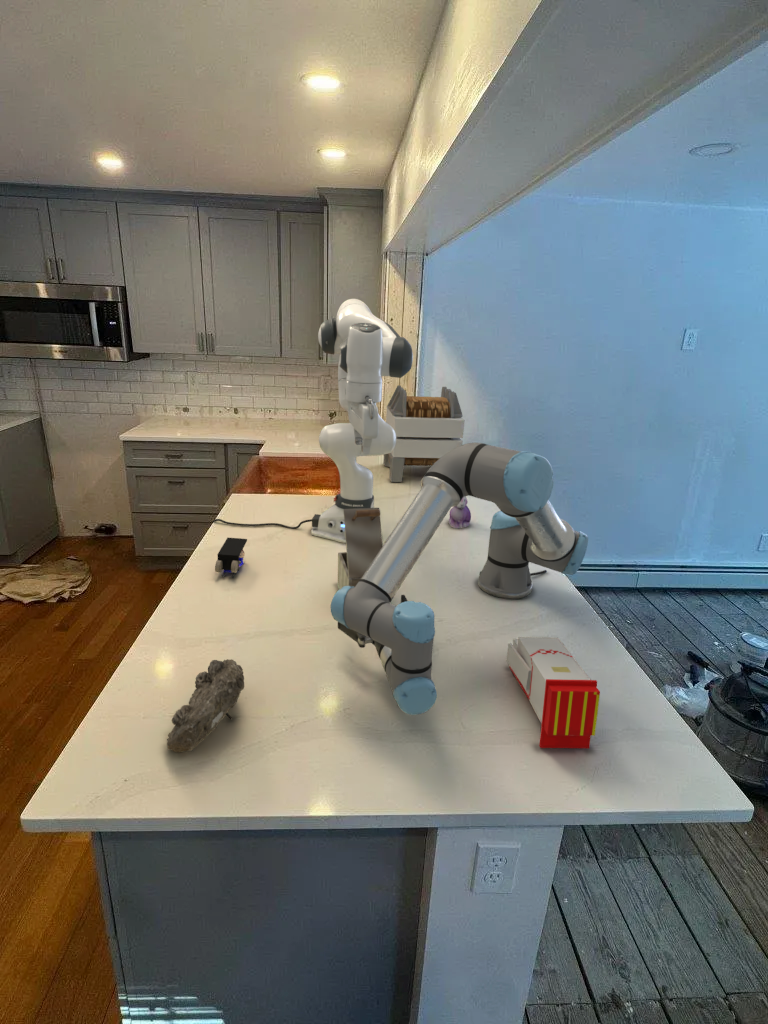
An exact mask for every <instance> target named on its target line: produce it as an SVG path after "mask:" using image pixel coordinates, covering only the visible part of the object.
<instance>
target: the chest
mask: <svg viewBox="0 0 768 1024" xmlns="http://www.w3.org/2000/svg"><path fill="white" fill-rule="evenodd" d="M361 578H362V577H361ZM361 578H349V577H348V564H347V551H344V552H343V551H342V552H337V583H336V585H337V588H338V590H340V589H341V588H342V587H344V586H351V587H353V586H354V587H355V586H356V585H357V583H358V582H359V580H360V579H361Z"/></svg>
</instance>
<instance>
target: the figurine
mask: <svg viewBox="0 0 768 1024" xmlns="http://www.w3.org/2000/svg"><path fill="white" fill-rule="evenodd" d="M468 503H469V502H468V498H467V496H465V497H463V498H462V500H461V501H460V503H459V504H458V505H457V506H454V507H451V508H450V510H449V515H448V516H449V518H448V524H449V526H450V527H451V528H454V529H462V528H467V527H469V526H470V523H471V519H472V513H471V510H470V508H469V507H468Z"/></svg>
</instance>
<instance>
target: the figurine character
mask: <svg viewBox="0 0 768 1024" xmlns="http://www.w3.org/2000/svg"><path fill="white" fill-rule="evenodd" d="M247 542H248V538H240V537H226V539H225V541H224V543H223V544H222V546H221V547H220V549H219V551H218V552H217V560H216V562H215V564H214V572H215V573H221V577H222V578H224V577H225V576H226V574H227V573H230V574H231V573H232V574H231V578H234V577H235V575H236V573H237V572H239V571H240V567H242V566H243V565H244V564H245V562H244V558H245V551H244V547H245V546H246V544H247Z"/></svg>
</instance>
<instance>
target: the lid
mask: <svg viewBox="0 0 768 1024" xmlns="http://www.w3.org/2000/svg"><path fill="white" fill-rule="evenodd" d="M343 511H344V524H345V537H346V543H345V548H346V552H347V564H348V577H349V578H361V577H362V576H363V575H364V573H365V572H366V570H367V569H368V567H369V566H370V564H371V563H372V561H373V560H374V558H375V557H376V555H377V554H378V552H379V551H380V549H381V548H382V546H383V545H384V544H383V536H382V535H383V534H382V524H381V510H380V507H374V508H358V509H344V510H343Z"/></svg>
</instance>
